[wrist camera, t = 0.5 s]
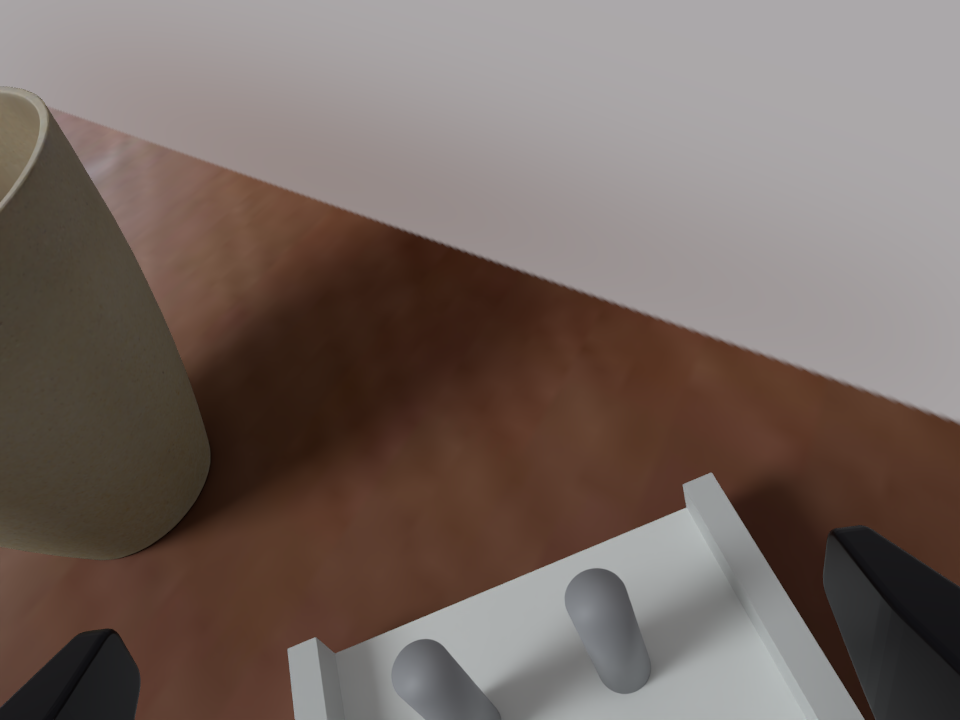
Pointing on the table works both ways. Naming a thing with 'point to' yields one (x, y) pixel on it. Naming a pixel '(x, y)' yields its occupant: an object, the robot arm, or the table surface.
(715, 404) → the table surface
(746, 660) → the board
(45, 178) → the plant pot
